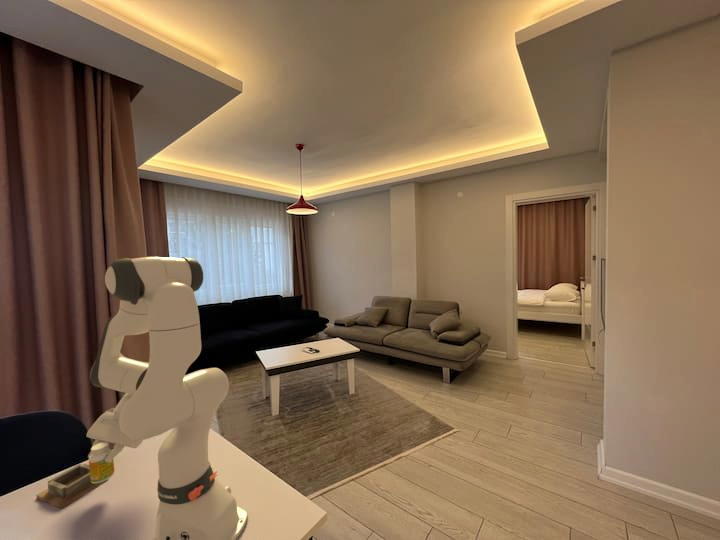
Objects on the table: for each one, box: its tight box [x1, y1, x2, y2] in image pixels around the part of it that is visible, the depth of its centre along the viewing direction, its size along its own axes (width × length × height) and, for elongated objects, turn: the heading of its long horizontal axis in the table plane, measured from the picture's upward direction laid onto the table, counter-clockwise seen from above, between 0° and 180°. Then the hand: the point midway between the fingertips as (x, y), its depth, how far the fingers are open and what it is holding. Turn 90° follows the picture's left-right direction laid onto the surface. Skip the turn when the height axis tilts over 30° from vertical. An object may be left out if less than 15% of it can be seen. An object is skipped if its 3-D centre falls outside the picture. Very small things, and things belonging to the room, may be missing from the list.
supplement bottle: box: [88, 442, 115, 484], centre depth 88 cm, size 5×5×10 cm
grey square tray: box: [36, 463, 105, 509], centre depth 92 cm, size 12×12×4 cm
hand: (98, 460), depth 88 cm, fingers closed on supplement bottle, 5 cm apart
